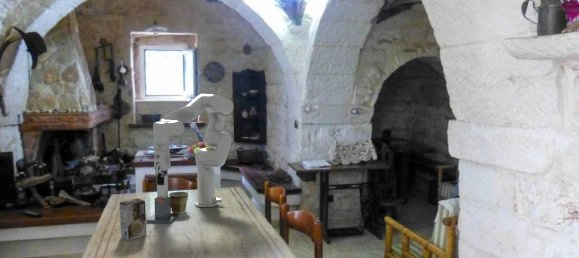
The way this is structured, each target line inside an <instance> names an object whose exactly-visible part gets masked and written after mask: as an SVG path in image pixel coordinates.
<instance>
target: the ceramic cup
mask: <svg viewBox="0 0 579 258" xmlns="http://www.w3.org/2000/svg"><path fill="white" fill-rule="evenodd" d="M168 196H171V213H174V214H179V215H183V214H185V213H186V211H187V205H188V204H187V203H188V200H189V199H188V198H189V192H187V191H172V192H170V193H168Z"/></svg>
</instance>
